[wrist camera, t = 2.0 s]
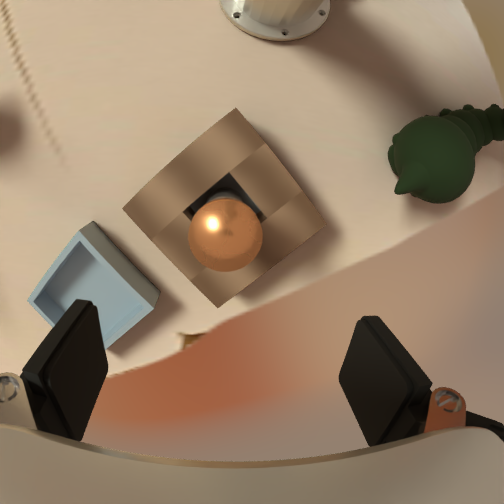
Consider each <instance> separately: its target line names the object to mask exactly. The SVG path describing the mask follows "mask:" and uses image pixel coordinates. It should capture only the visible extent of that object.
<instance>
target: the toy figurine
mask: <svg viewBox="0 0 504 504" xmlns="http://www.w3.org/2000/svg"><path fill="white" fill-rule="evenodd" d="M492 140H496V141H502V140H504V109H503V110H502V109H501V108H500V107H499V106H498V105H496V104H492V105H491V106H490V107H489V108H487V109H486V110H485V111H483V110H481V109H474V107H473V106H471V105H468V104H467V105H464V106H463V109H462V110H461V109H459V110H455V111H451V110H449V109H445V108H444V109H443V110H442V111H441V112H440V117H438V116H428V115H425V116H424V117H420V118H418V119H416V120H414V121H412V122H410V123H409V124H407V125H406V126H405V127H404V128H403V129H402V130H401V131H400V132H399V133H397V134H395V135H394V136H393V139H392V142H393V145H391V147H390V148H389V151H388V160H389V162H390V165H391V168H392V170H393V171H394V173H395V174H396V175H397V176H399V180H398V182H397V184H396V187H395V190H394V192H395V194H397V195H401V194H406V193H411V194H412V196H414V197H418V198H420V199H422V200H424V201H427V202H430V203H447V202H450V201H453V200H455V199H456V198H458V197H459V196H461V195H462V194H463V193H464V192H465V191H466V189H467V188H468V186H469V185H470V183H471V181H472V178H473V175H474V171H475V155H476V153H477V152H479V151H480V149H481V148H482V146H485V145H488V144H489V143H490V142H491V141H492Z"/></svg>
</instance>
